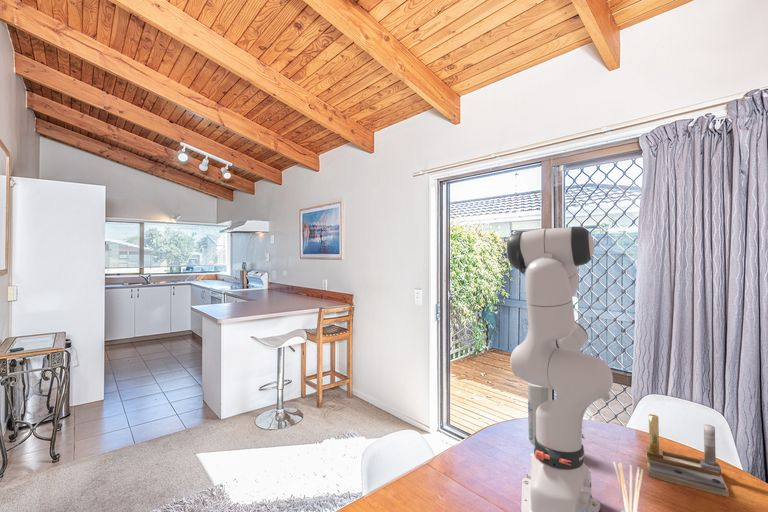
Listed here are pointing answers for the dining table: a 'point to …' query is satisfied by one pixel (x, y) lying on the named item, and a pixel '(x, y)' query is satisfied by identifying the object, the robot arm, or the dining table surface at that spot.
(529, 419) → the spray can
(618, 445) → the dining table surface
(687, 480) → the base
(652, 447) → the leg
